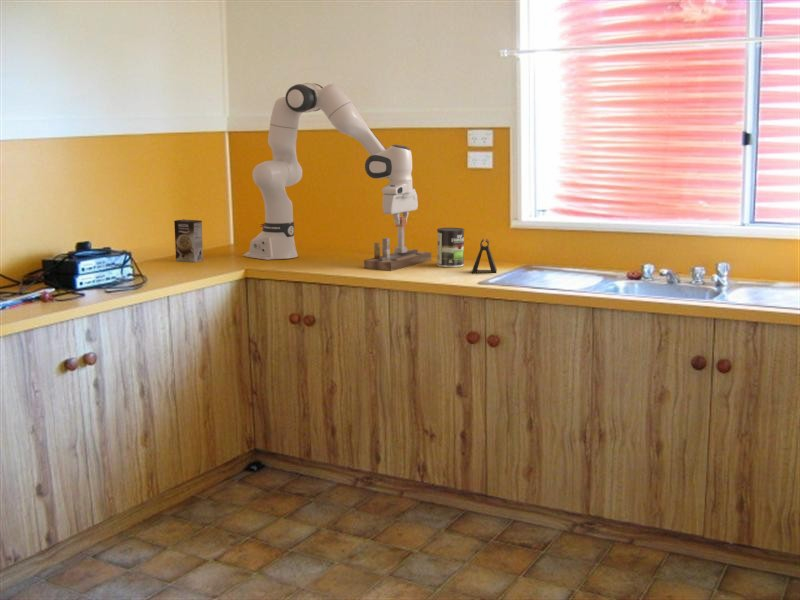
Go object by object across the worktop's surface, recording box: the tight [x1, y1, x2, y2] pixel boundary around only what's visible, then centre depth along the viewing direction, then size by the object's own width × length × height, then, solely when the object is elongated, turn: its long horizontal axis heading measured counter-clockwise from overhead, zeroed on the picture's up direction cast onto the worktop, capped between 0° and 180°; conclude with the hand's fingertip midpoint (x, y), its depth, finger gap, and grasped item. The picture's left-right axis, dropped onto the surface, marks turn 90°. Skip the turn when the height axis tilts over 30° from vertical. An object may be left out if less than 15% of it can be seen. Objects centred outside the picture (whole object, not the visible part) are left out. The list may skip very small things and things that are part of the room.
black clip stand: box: [471, 238, 498, 274], centre depth 360 cm, size 9×6×12 cm, turn 83°
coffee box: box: [173, 218, 204, 263], centre depth 389 cm, size 9×6×16 cm
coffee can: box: [436, 227, 465, 268], centre depth 375 cm, size 10×10×14 cm
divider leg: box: [394, 215, 408, 253], centre depth 380 cm, size 3×4×14 cm
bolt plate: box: [363, 236, 432, 272], centre depth 380 cm, size 12×30×11 cm, turn 148°
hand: (400, 223), depth 379 cm, fingers closed on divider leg, 3 cm apart
